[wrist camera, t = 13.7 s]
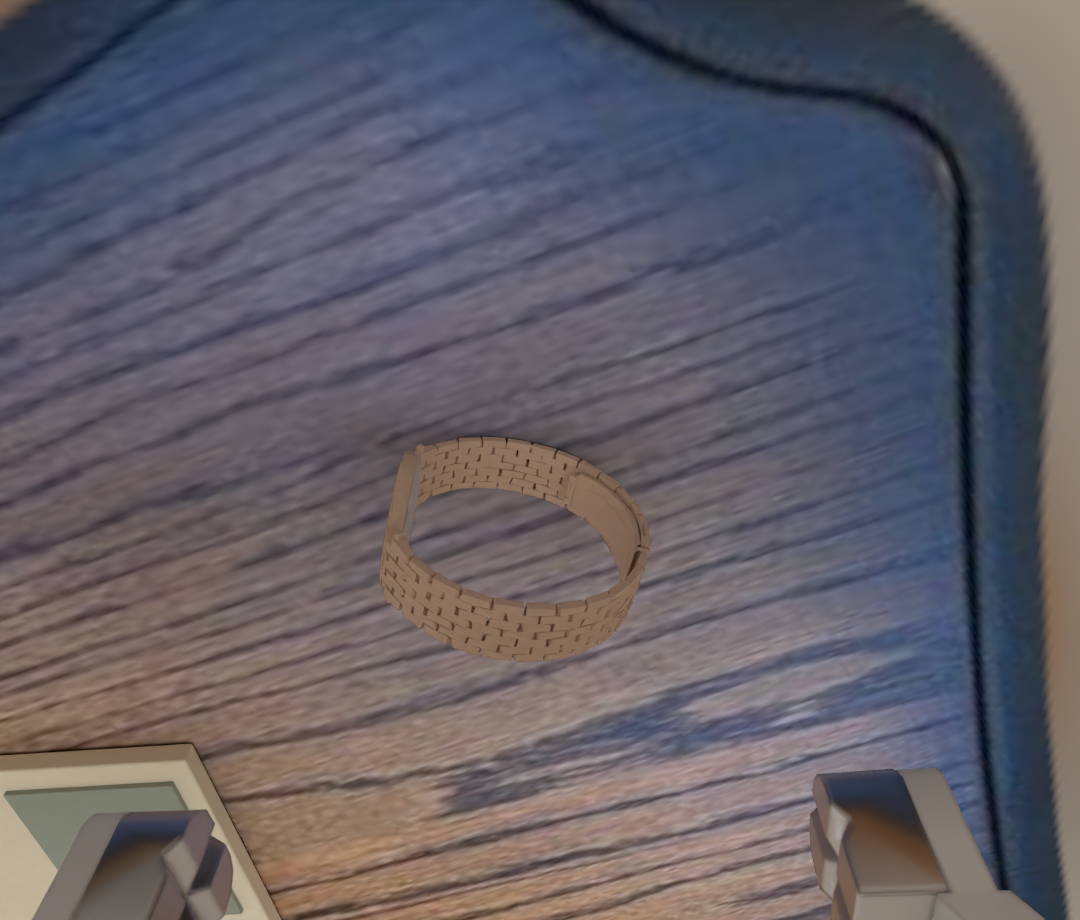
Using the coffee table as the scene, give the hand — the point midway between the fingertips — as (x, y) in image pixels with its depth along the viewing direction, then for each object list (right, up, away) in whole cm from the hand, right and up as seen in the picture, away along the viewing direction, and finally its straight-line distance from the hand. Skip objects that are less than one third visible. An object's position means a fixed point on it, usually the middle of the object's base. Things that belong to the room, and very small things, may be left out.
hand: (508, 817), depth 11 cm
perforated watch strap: (0, +5, +7) cm, 8 cm away
